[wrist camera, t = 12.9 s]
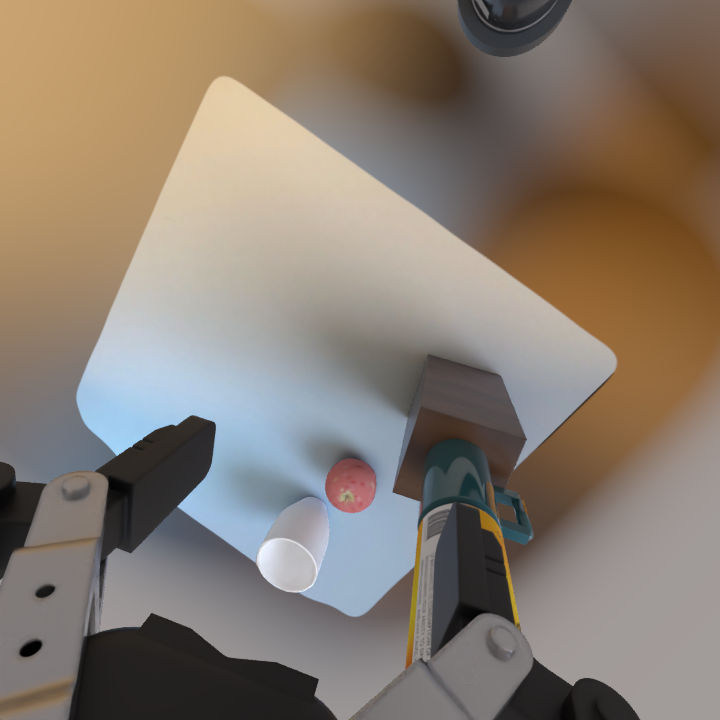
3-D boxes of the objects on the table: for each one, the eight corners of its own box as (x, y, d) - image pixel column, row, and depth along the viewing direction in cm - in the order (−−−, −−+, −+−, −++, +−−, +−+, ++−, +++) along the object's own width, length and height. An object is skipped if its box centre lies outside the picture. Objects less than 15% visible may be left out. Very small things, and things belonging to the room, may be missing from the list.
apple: (338, 442, 61) (323, 471, 54) (385, 456, 60) (376, 487, 53) (329, 482, 64) (314, 515, 56) (374, 496, 63) (364, 531, 55)
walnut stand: (428, 354, 55) (420, 406, 38) (501, 375, 53) (527, 439, 37) (407, 418, 58) (392, 492, 41) (476, 439, 57) (489, 525, 40)
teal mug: (434, 430, 38) (431, 485, 30) (531, 460, 37) (556, 527, 29) (415, 483, 40) (407, 549, 32) (507, 513, 39) (524, 590, 31)
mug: (319, 478, 64) (292, 530, 53) (349, 521, 65) (329, 581, 54) (264, 505, 68) (228, 558, 56) (294, 545, 69) (264, 605, 58)
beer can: (453, 576, 32) (459, 849, 17) (402, 521, 31) (366, 757, 17) (519, 541, 29) (586, 818, 15) (466, 482, 29) (485, 713, 15)
